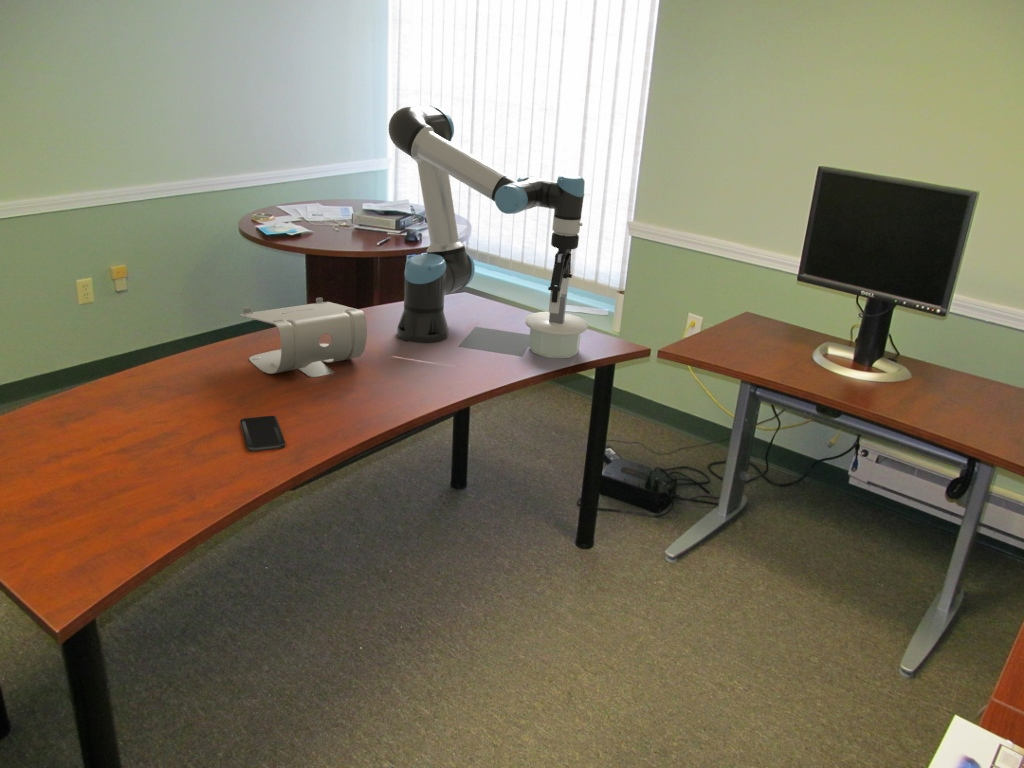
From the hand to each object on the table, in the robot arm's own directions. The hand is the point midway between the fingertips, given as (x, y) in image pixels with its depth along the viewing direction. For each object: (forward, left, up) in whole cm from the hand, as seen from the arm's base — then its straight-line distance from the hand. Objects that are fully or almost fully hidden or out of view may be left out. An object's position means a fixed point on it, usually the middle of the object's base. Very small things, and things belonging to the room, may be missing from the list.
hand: (557, 306), depth 235 cm
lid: (0, 0, -7) cm, 7 cm away
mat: (-17, 0, -14) cm, 22 cm away
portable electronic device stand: (-60, -38, -14) cm, 72 cm away
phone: (-50, -79, -14) cm, 95 cm away
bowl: (0, 0, -14) cm, 14 cm away
